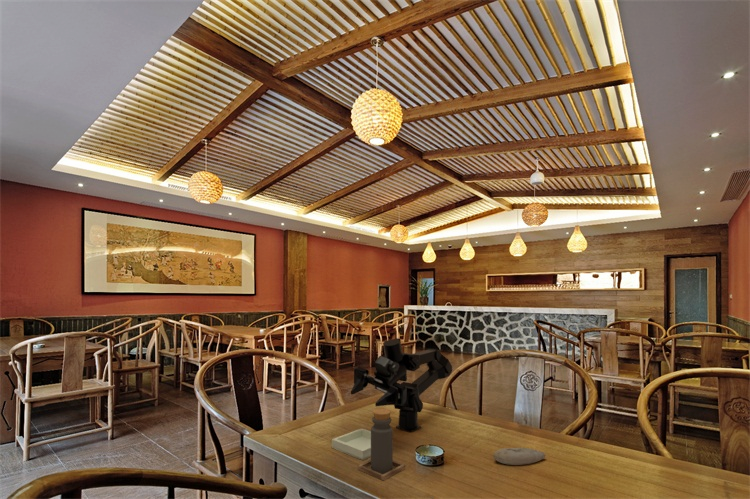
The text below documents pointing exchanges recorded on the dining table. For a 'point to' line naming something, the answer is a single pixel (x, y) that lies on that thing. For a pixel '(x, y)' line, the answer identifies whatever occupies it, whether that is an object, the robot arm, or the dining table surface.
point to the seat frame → (378, 475)
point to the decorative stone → (518, 456)
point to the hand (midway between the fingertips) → (363, 398)
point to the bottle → (381, 442)
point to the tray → (354, 444)
